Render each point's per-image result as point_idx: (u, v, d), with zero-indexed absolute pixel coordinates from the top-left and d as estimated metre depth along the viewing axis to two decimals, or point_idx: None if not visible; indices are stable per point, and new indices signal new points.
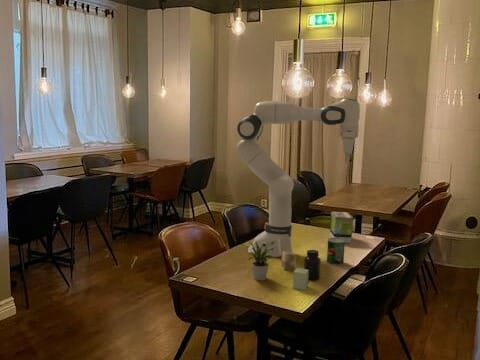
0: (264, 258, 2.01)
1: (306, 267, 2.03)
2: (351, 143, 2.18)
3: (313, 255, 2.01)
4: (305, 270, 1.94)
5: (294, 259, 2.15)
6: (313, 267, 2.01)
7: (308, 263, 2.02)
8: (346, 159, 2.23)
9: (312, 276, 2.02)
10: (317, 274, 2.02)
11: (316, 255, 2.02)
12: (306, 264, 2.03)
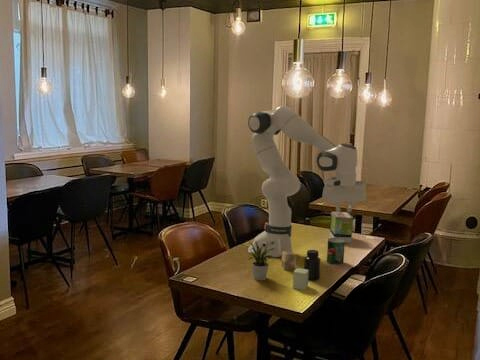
0: (264, 258, 2.01)
1: (306, 267, 2.03)
2: (326, 191, 2.07)
3: (313, 255, 2.01)
4: (305, 270, 1.94)
5: (294, 259, 2.15)
6: (313, 267, 2.01)
7: (308, 263, 2.02)
8: (336, 207, 2.12)
9: (312, 276, 2.02)
10: (317, 274, 2.02)
11: (316, 255, 2.02)
12: (306, 264, 2.03)
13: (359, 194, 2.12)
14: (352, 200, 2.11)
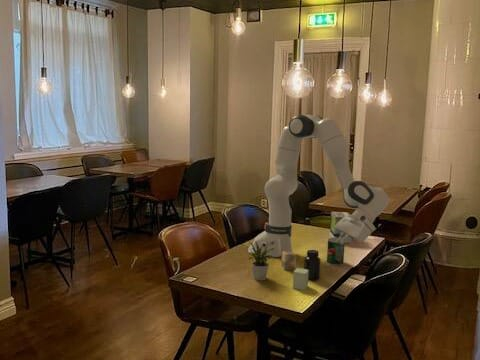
0: (264, 258, 2.01)
1: (306, 267, 2.03)
2: (368, 234, 1.99)
3: (313, 255, 2.01)
4: (305, 270, 1.94)
5: (294, 259, 2.15)
6: (313, 267, 2.01)
7: (308, 263, 2.02)
8: (343, 240, 2.05)
9: (312, 276, 2.02)
10: (317, 274, 2.02)
11: (316, 255, 2.02)
12: (306, 264, 2.03)
13: None
14: None
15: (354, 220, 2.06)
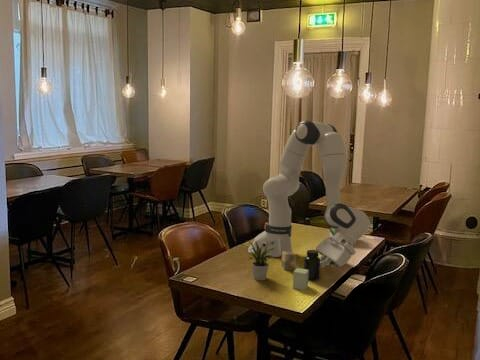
0: (264, 258, 2.01)
1: (306, 267, 2.03)
2: (348, 258, 1.98)
3: (313, 255, 2.01)
4: (305, 270, 1.94)
5: (294, 259, 2.15)
6: (313, 267, 2.01)
7: (308, 263, 2.02)
8: (324, 263, 2.04)
9: (311, 276, 2.02)
10: (317, 273, 2.02)
11: (316, 255, 2.02)
12: (306, 264, 2.02)
13: None
14: None
15: (335, 243, 2.05)
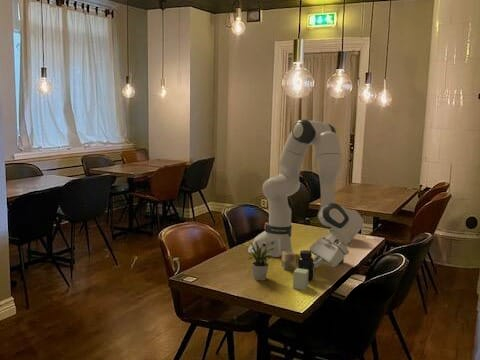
0: (264, 258, 2.01)
1: None
2: (341, 258, 1.97)
3: (306, 256, 2.00)
4: (305, 270, 1.94)
5: (294, 259, 2.15)
6: (307, 268, 2.00)
7: (301, 264, 2.00)
8: (317, 263, 2.03)
9: None
10: (311, 274, 2.01)
11: (309, 255, 2.01)
12: (299, 265, 2.01)
13: None
14: None
15: (328, 243, 2.04)
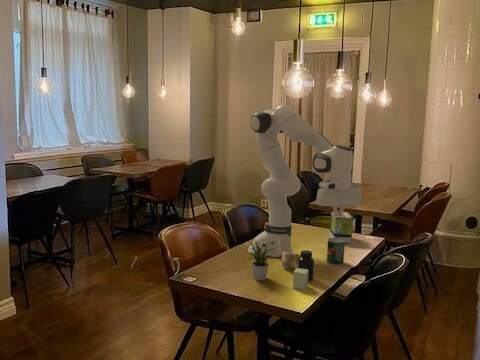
0: (264, 258, 2.01)
1: (300, 268, 2.01)
2: (320, 194, 2.00)
3: (307, 256, 2.00)
4: (305, 270, 1.94)
5: (294, 259, 2.15)
6: (307, 268, 2.00)
7: (302, 264, 2.00)
8: (334, 211, 2.05)
9: None
10: (311, 274, 2.01)
11: (310, 256, 2.01)
12: (300, 265, 2.01)
13: (354, 197, 2.05)
14: (347, 204, 2.04)
15: None
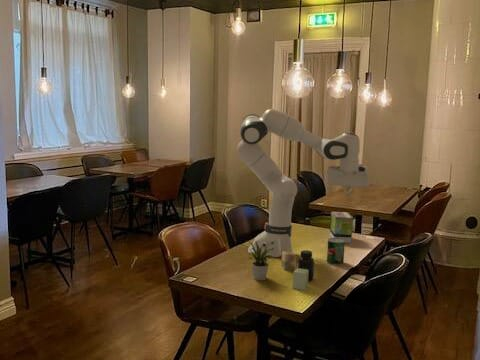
0: (264, 258, 2.01)
1: (300, 268, 2.01)
2: None
3: (307, 256, 2.00)
4: (305, 270, 1.94)
5: (294, 259, 2.15)
6: (307, 268, 2.00)
7: (302, 264, 2.00)
8: (350, 191, 2.31)
9: None
10: (311, 274, 2.01)
11: (310, 256, 2.01)
12: (300, 265, 2.01)
13: None
14: None
15: (351, 173, 2.28)
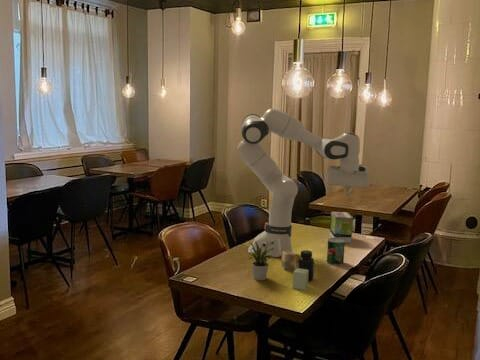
0: (264, 258, 2.01)
1: (300, 268, 2.01)
2: None
3: (307, 256, 2.00)
4: (305, 270, 1.94)
5: (294, 259, 2.15)
6: (307, 268, 2.00)
7: (302, 264, 2.00)
8: (350, 191, 2.32)
9: None
10: (311, 274, 2.01)
11: (310, 256, 2.01)
12: (300, 265, 2.01)
13: None
14: None
15: (351, 173, 2.29)
